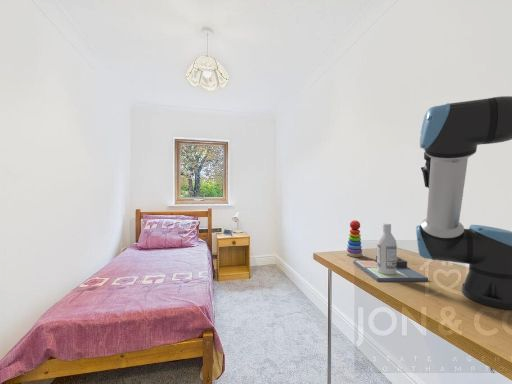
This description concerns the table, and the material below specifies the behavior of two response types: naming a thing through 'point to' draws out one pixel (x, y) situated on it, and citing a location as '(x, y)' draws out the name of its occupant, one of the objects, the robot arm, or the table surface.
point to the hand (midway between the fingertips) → (433, 203)
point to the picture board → (401, 275)
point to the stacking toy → (354, 240)
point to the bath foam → (386, 251)
